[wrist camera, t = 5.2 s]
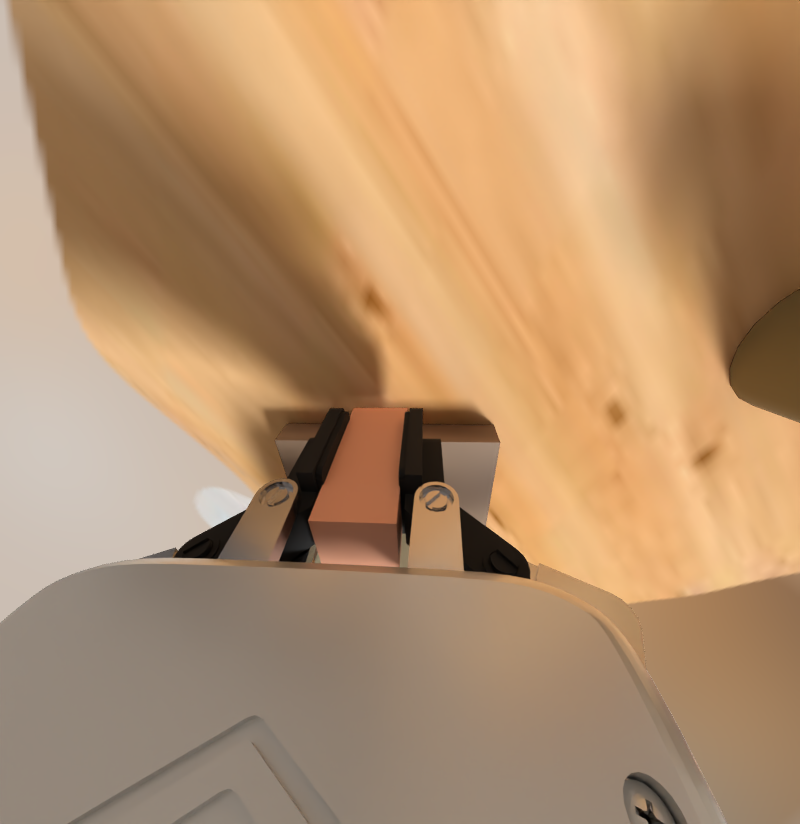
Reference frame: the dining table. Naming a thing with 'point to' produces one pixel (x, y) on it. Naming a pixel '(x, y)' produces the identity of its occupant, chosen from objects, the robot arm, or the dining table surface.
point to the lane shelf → (461, 451)
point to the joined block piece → (363, 494)
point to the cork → (771, 361)
